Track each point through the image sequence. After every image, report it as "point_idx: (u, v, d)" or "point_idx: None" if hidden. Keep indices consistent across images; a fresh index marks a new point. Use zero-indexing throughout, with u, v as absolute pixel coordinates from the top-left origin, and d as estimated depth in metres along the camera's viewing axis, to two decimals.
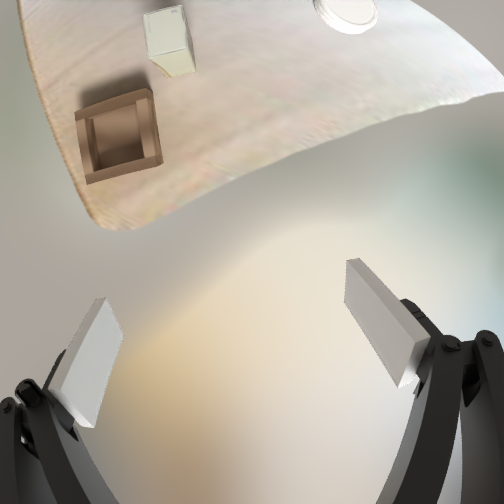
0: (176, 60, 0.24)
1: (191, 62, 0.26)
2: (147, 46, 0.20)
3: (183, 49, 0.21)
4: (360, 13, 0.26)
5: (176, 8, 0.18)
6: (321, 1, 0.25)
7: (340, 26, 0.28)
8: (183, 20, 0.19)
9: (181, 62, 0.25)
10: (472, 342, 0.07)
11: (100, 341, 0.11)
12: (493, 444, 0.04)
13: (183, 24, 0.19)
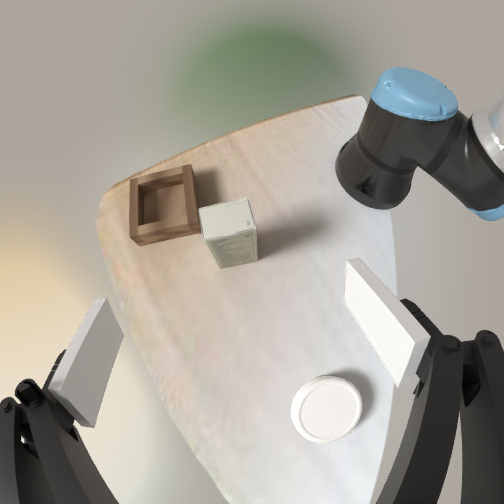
0: None
1: None
2: (211, 206, 0.31)
3: (203, 237, 0.30)
4: (319, 423, 0.31)
5: (252, 224, 0.30)
6: (320, 380, 0.33)
7: (294, 404, 0.33)
8: (236, 232, 0.30)
9: None
10: (472, 342, 0.07)
11: (100, 341, 0.11)
12: (493, 444, 0.04)
13: (231, 233, 0.30)
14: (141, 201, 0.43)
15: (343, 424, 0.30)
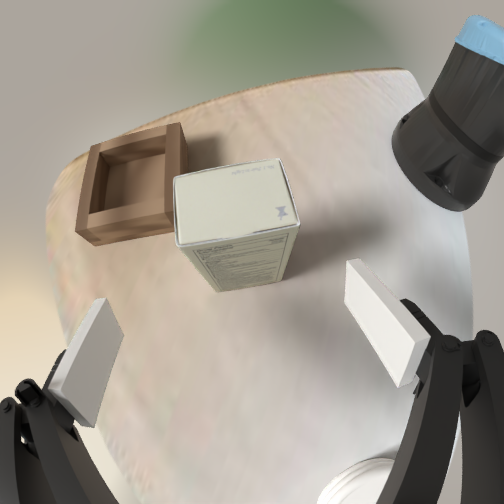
0: None
1: None
2: (200, 173, 0.14)
3: (177, 238, 0.13)
4: None
5: (290, 215, 0.13)
6: (369, 473, 0.15)
7: (324, 503, 0.15)
8: (253, 232, 0.13)
9: None
10: (472, 342, 0.07)
11: (100, 341, 0.11)
12: (493, 444, 0.04)
13: (241, 233, 0.13)
14: (102, 177, 0.26)
15: None
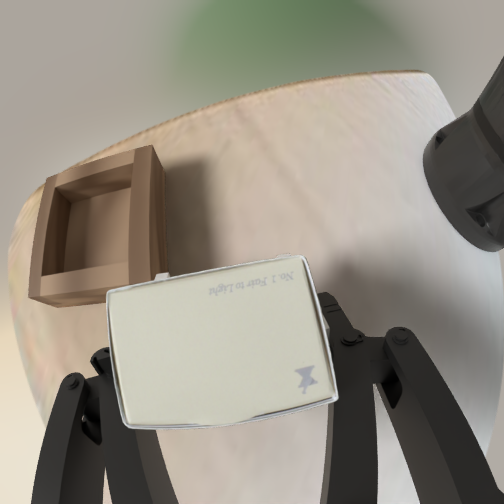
0: None
1: None
2: (151, 286, 0.07)
3: (123, 412, 0.06)
4: None
5: (321, 384, 0.06)
6: None
7: None
8: (252, 418, 0.06)
9: None
10: (383, 342, 0.09)
11: None
12: (433, 446, 0.05)
13: (231, 419, 0.06)
14: (60, 220, 0.19)
15: None
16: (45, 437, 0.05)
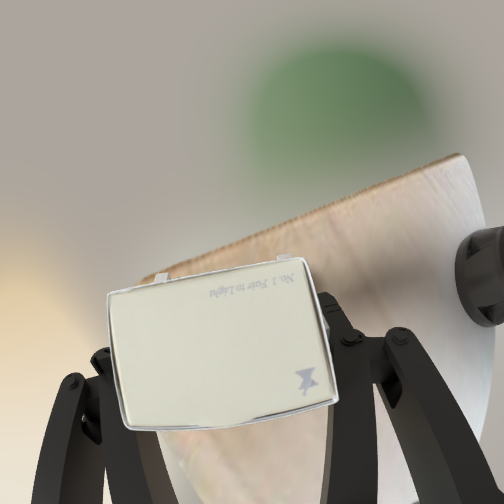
0: None
1: None
2: (152, 288, 0.07)
3: (124, 414, 0.06)
4: None
5: (322, 386, 0.06)
6: None
7: None
8: (253, 419, 0.06)
9: None
10: (383, 342, 0.09)
11: None
12: (433, 446, 0.05)
13: (232, 421, 0.06)
14: None
15: None
16: (45, 437, 0.05)
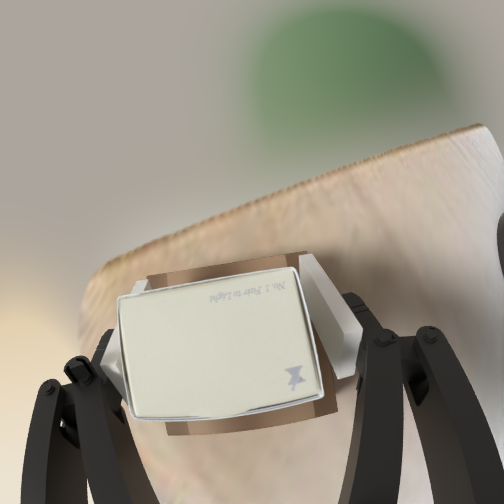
0: None
1: None
2: (158, 293, 0.08)
3: (131, 406, 0.07)
4: None
5: (308, 382, 0.07)
6: None
7: None
8: (247, 411, 0.07)
9: None
10: (413, 340, 0.09)
11: None
12: (453, 443, 0.04)
13: (228, 412, 0.07)
14: None
15: None
16: (28, 442, 0.05)
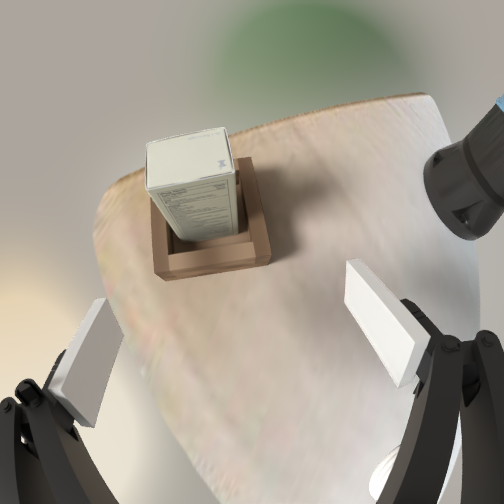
0: None
1: (168, 222, 0.23)
2: (166, 139, 0.18)
3: (146, 184, 0.17)
4: None
5: (228, 166, 0.17)
6: None
7: (378, 479, 0.20)
8: (199, 178, 0.17)
9: None
10: (472, 342, 0.07)
11: (100, 341, 0.11)
12: (493, 444, 0.04)
13: (191, 179, 0.17)
14: None
15: None
16: None
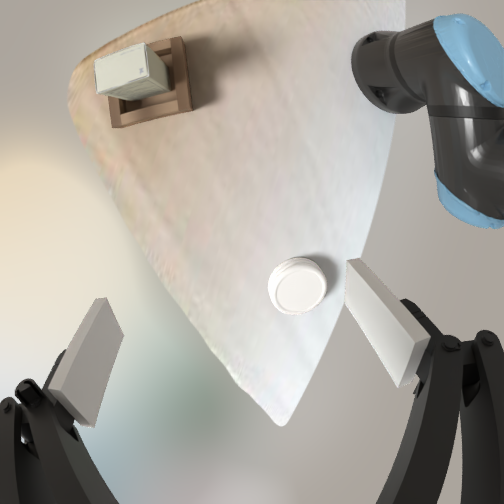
0: None
1: (117, 97, 0.26)
2: (106, 56, 0.19)
3: (96, 90, 0.21)
4: (290, 299, 0.46)
5: (144, 72, 0.21)
6: (296, 266, 0.43)
7: (272, 281, 0.45)
8: (128, 82, 0.21)
9: None
10: (472, 342, 0.07)
11: (100, 341, 0.11)
12: (493, 444, 0.04)
13: (123, 83, 0.21)
14: None
15: (309, 302, 0.46)
16: None
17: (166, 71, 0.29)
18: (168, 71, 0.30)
